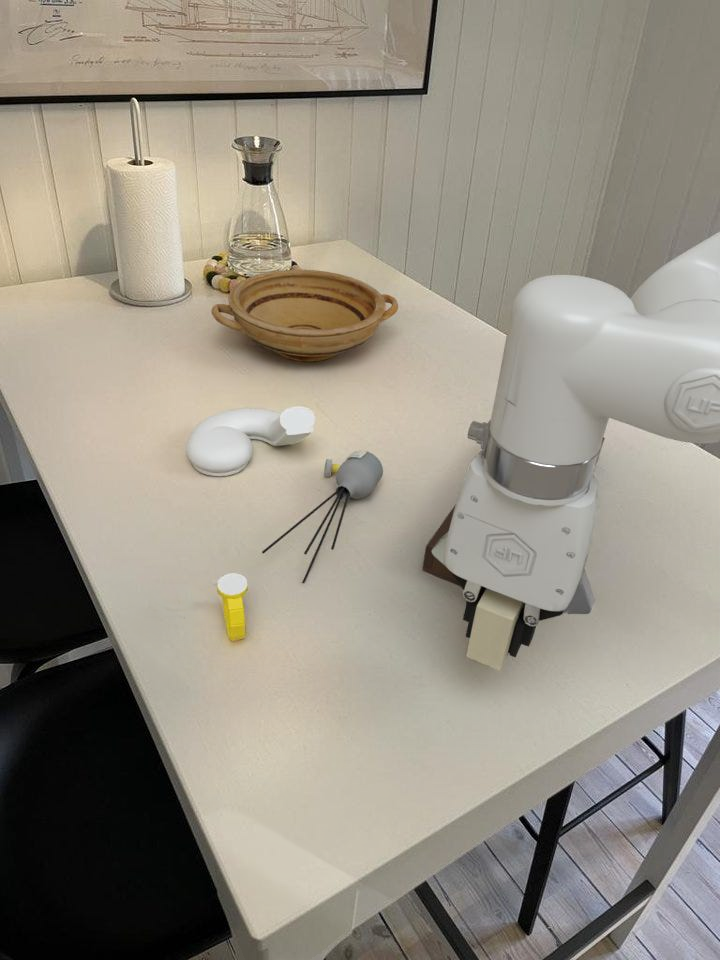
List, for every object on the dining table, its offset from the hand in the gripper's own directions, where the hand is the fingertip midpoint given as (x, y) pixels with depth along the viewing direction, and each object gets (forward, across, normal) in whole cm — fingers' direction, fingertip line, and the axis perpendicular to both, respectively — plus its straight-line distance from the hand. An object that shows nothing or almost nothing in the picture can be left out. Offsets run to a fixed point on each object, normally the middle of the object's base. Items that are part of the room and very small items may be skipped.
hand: (496, 634), depth 63 cm
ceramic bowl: (+7, -48, +50) cm, 70 cm away
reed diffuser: (+8, -24, +13) cm, 28 cm away
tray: (+8, -6, +28) cm, 29 cm away
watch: (+8, -24, -5) cm, 25 cm away
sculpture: (+7, -40, +20) cm, 45 cm away
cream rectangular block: (+1, 0, 0) cm, 1 cm away
